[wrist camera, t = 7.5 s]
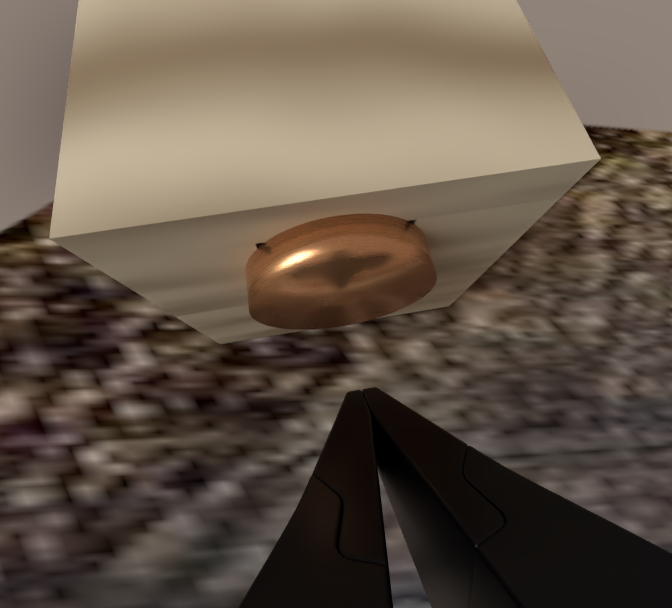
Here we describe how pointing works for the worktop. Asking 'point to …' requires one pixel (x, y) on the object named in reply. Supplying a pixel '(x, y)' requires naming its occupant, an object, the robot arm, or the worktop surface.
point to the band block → (303, 138)
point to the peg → (338, 272)
